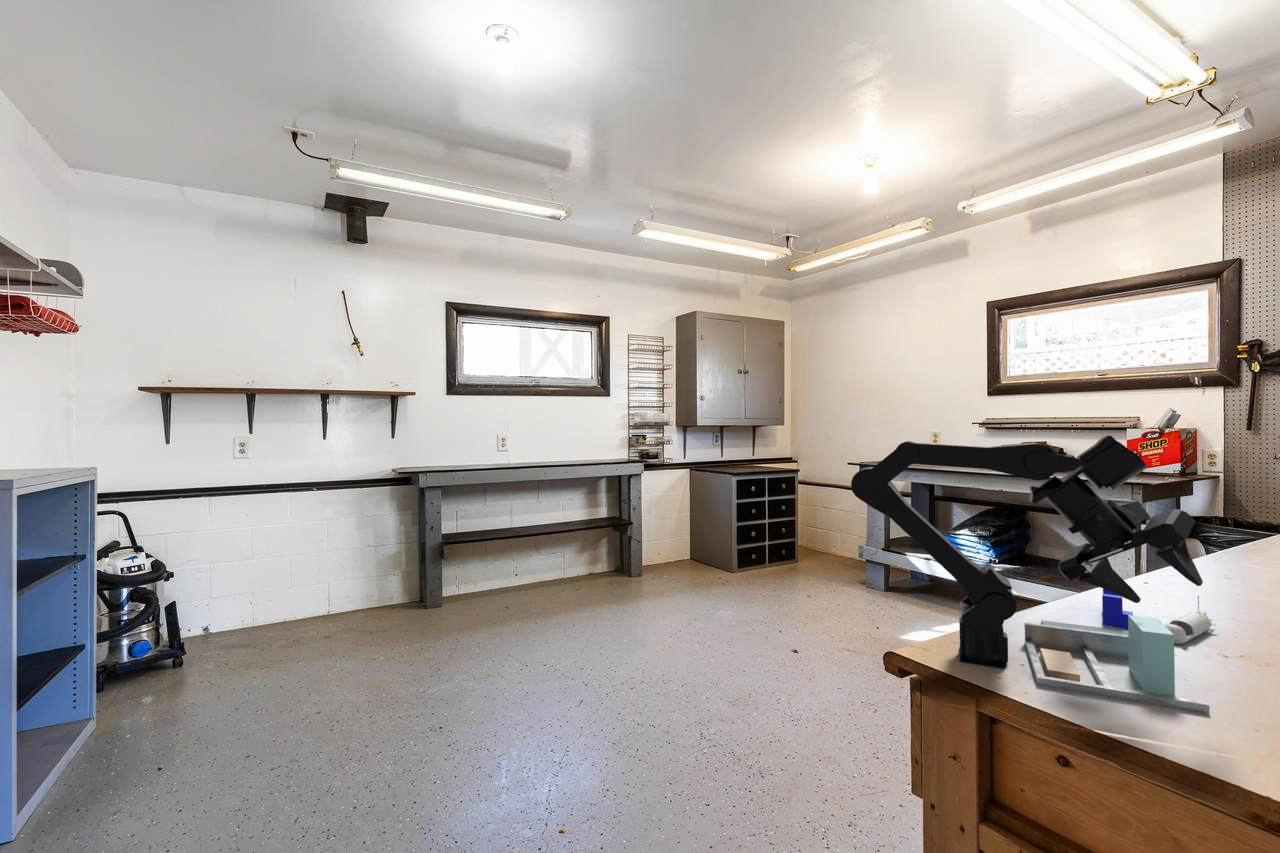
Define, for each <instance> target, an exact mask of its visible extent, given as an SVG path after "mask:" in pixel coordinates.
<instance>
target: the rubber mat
mask: <svg viewBox="0 0 1280 853" xmlns="http://www.w3.org/2000/svg"><path fill="white" fill-rule="evenodd" d="M1040 621H1041V622H1040V623H1041V625H1049V626H1057V627H1065V628H1073V629H1081V630H1089V631H1097V632H1105V633H1113V634H1121V635H1128V630H1126V629H1124V630H1122V629H1118V628H1117V629H1115V628H1106V627H1099V626H1098V627H1097V626H1092V625H1091V626H1090V625H1083V624H1075V623H1073V624H1072V623H1068V622H1067V623H1065V622H1057V621H1049V620H1040Z"/></svg>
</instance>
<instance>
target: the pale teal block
mask: <svg viewBox="0 0 1280 853" xmlns="http://www.w3.org/2000/svg"><path fill="white" fill-rule="evenodd" d="M1164 625H1165V624H1163V623H1162V621H1161V620H1159V618H1157V617H1148V616H1139V615H1133V616H1132V615H1128V629H1127V631H1128V637H1129V660H1128V671H1129V673H1130V674H1131V675H1132V676H1133V678H1134V680H1135V681H1136V682H1137V684H1138V685H1139V687H1140V688H1141V690H1142V692H1148V693H1150V692H1151V693H1155V694H1161V695H1167V696H1176V682H1175V680H1176V679H1175V678H1176V676H1175V675H1176V674H1175V671H1176V670H1175V668H1176V667H1175V644H1174V634H1173V633H1172V632H1171V631H1170V630H1169V629H1167V628H1166V627H1165V626H1164Z"/></svg>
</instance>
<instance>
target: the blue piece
mask: <svg viewBox="0 0 1280 853" xmlns="http://www.w3.org/2000/svg"><path fill="white" fill-rule="evenodd" d="M1101 596H1102V598H1101V600H1102V601H1101V602H1102V605H1101V606H1102V626H1103V625H1105V627H1110V626H1112V627H1111V628H1116V627H1118V628H1117V629H1122V628H1124V630H1128V615H1132V616H1134V615H1133V611H1129V610H1124V609H1123V597H1121V596H1119V595H1117V594H1115V593H1113V592H1110V591H1108V590H1106V589H1103V588H1102V595H1101Z"/></svg>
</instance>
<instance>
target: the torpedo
mask: <svg viewBox="0 0 1280 853" xmlns="http://www.w3.org/2000/svg"><path fill="white" fill-rule="evenodd" d="M1196 597H1197V611H1195V612H1188V613H1187V614H1184V615H1182V616H1180V617H1178V618H1176V619H1173V620H1172V621H1170V622H1169V623H1165V624H1163V625H1164V626H1165V627H1166V628H1167V629H1169V630H1170V631H1171V632H1172V633H1173V634H1174V645H1184V644H1185V643H1187V642H1189V641H1190V640H1192V639H1194V638H1196V637H1197V636H1200V635H1201V634H1203V633H1205V632H1207V631H1209V629H1210V628H1211V627H1212V626H1216V625H1217V624H1216V623H1212V621H1214V619H1213V618H1209V617H1208V616H1207V611H1204V612H1200V596H1199V595H1197V596H1196Z"/></svg>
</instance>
